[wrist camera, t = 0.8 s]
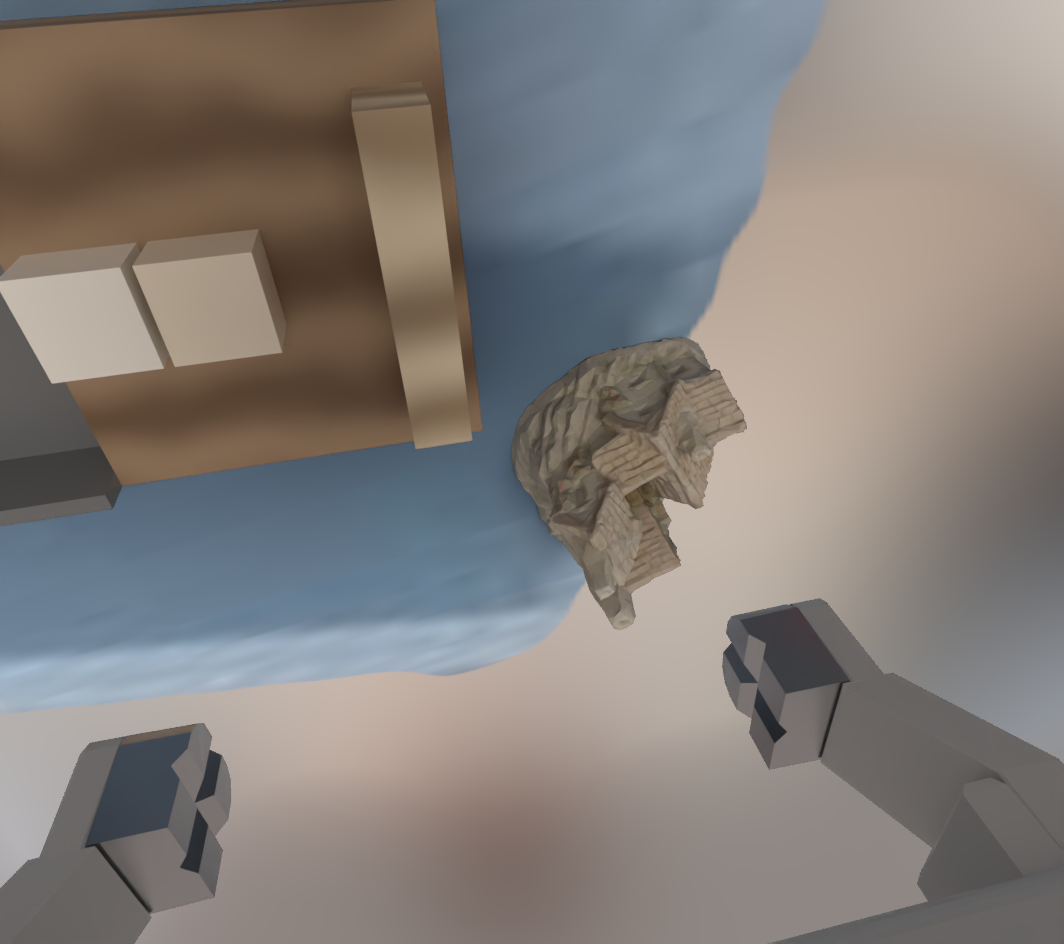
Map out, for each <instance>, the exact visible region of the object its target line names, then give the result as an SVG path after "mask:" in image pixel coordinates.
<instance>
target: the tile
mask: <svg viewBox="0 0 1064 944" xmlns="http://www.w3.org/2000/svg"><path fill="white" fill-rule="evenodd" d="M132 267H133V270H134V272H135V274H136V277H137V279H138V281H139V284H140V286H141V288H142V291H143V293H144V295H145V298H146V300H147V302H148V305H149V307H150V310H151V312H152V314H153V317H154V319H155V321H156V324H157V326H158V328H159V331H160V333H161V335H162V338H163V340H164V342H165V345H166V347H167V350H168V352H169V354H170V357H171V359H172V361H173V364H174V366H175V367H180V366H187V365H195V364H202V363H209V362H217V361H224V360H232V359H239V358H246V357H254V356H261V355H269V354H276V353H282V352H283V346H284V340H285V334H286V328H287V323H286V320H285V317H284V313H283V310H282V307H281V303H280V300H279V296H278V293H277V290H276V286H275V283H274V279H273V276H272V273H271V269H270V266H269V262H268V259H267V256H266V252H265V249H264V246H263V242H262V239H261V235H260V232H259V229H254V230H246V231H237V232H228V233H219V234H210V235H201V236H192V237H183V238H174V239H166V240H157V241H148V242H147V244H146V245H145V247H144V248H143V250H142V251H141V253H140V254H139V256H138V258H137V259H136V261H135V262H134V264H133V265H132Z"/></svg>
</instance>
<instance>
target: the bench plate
mask: <svg viewBox="0 0 1064 944" xmlns="http://www.w3.org/2000/svg"><path fill="white" fill-rule="evenodd" d="M412 82H421V83H422V86H423V88H424V90H425V93H426V95H427V97H428V100H429V102H430V105H431V112H432V120H433V128H434V136H435V144H436V152H437V160H438V168H439V176H440V184H441V192H442V200H443V209H444V217H445V225H446V233H447V241H448V249H449V257H450V265H451V273H452V281H453V289H454V297H455V305H456V313H457V321H458V329H459V337H460V345H461V353H462V361H463V369H464V377H465V385H466V393H467V401H468V409H469V417H470V425H471V432H476V431H483V429H482V420H481V411H480V402H479V393H478V384H477V375H476V366H475V357H474V348H473V339H472V330H471V321H470V313H469V304H468V295H467V286H466V277H465V268H464V259H463V250H462V241H461V232H460V223H459V214H458V205H457V196H456V187H455V178H454V169H453V160H452V151H451V142H450V134H449V125H448V116H447V107H446V98H445V89H444V80H443V71H442V62H441V53H440V44H439V35H438V26H437V17H436V8H435V0H286V1H273V2H259V3H245V4H231V5H217V6H204V7H190V8H176V9H162V10H148V11H135V12H121V13H107V14H93V15H79V16H66V17H52V18H38V19H24V20H10V21H0V264H1V266H2V268H3V270H4V272H5V271H6V270H7V269H8V268H9V267H10V266H11V265H12V264H13V263H14V262H15V261H16V260H17V259H18V258H19V257H20V256H23V255H32V254H41V253H50V252H59V251H68V250H77V249H86V248H94V247H103V246H112V245H121V244H130V243H137V245H138V247H139V250H140V252H141V251H142V250H143V248H144V247H145V245H146V244H147V242H148V241H157V240H166V239H174V238H183V237H192V236H201V235H210V234H219V233H228V232H237V231H246V230H254V229H259V232H260V235H261V239H262V242H263V246H264V249H265V252H266V256H267V259H268V262H269V266H270V269H271V273H272V276H273V279H274V283H275V286H276V290H277V293H278V296H279V300H280V303H281V307H282V310H283V313H284V317H285V320H286V323H287V328H286V334H285V340H284V346H283V352H282V353H276V354H269V355H261V356H254V357H246V358H239V359H232V360H224V361H217V362H209V363H202V364H195V365H187V366H180V367H175V366H174V364H173V361H172V359H171V357H170V356H169V358H168V360H167V363H166V365H165V367H164V369H157V370H150V371H143V372H135V373H128V374H120V375H113V376H106V377H98V378H91V379H83V380H76V381H69V382H65V383H66V385H67V386H68V388H69V390H70V392H71V394H72V396H73V397H74V399H75V401H76V403H77V405H78V407H79V408H80V410H81V412H82V414H83V416H84V417H85V419H86V421H87V423H88V425H89V427H90V428H91V430H92V432H93V434H94V436H95V438H96V439H97V441H98V443H99V445H100V447H101V448H102V450H103V452H104V454H105V456H106V458H107V459H108V461H109V463H110V465H111V467H112V469H113V470H114V472H115V474H116V476H117V478H118V479H119V481H120V483H121V485H122V486H126V485H133V484H139V483H146V482H152V481H159V480H165V479H172V478H178V477H185V476H191V475H198V474H204V473H211V472H217V471H224V470H230V469H236V468H243V467H249V466H256V465H262V464H269V463H275V462H282V461H288V460H295V459H301V458H308V457H314V456H321V455H327V454H334V453H340V452H347V451H353V450H360V449H366V448H373V447H379V446H386V445H392V444H399V443H405V442H412V441H414V438H413V433H412V427H411V422H410V417H409V412H408V406H407V401H406V396H405V391H404V385H403V380H402V375H401V370H400V364H399V359H398V354H397V349H396V343H395V338H394V333H393V328H392V322H391V317H390V312H389V307H388V301H387V296H386V291H385V286H384V280H383V275H382V270H381V265H380V259H379V254H378V249H377V244H376V238H375V233H374V228H373V223H372V217H371V212H370V207H369V202H368V196H367V191H366V186H365V181H364V175H363V170H362V165H361V160H360V154H359V149H358V144H357V139H356V133H355V128H354V123H353V118H352V112H351V106H352V88H356V87H367V86H378V85H390V84H401V83H412Z"/></svg>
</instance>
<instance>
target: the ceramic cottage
mask: <svg viewBox="0 0 1064 944" xmlns="http://www.w3.org/2000/svg"><path fill="white" fill-rule="evenodd" d="M745 429H747V426H746V422H745V421H744V414H743V413H742V411H741V410H740V408H739V407H738V405H737V401H736V400H735V398H733V396H732V394H731V392H730V391H729V389H728V387H727V385H726V384H725V381H724V379H723V377H722V375H721V373H720V371H719V370H716V369H714V370H710V365H709V364H708V362H707V360H706V358H705V354H704V352H703V350H702V349H701V348H700V346H699V344H698V343H697V344H696V343H695V342H694V341H692V340H690V339H687V338H683V337H682V338H679V337H673V338H671V340H669V339H662V341H660V342H657V341H654V342H648V343H641V344H639V345H636V346H631V347H626V348H624V349H623V348H617V349H616V350H613V351H612V350H609V351H606V352H604V353H602V354H597V355H596V356H592V357H591V358H588V359H586V360H585V361H583V362H582V363H580V364H579V366H576V367H574V368H573V369H571V370H569V373H568V374H566V375H565V376H564V377H562V379H561V380H558V381H556V382H555V383H554V384H552V385H551V386H549V387H548V388H547V389H546V390H545V391H544V392H543V393H541V394H540V395H539V396H538V397H537V400H535V401H534V402H533V404H530V405H529V406H528V407H527V408H526V410H525V411H524V413H523V414H522V416H521V418H520V419H519V421H518V424H517V427H516V431H515V435H514V439H513V445H512V462H513V468H514V471H515V474H516V476H517V478H518V480H519V481H520V482H521V484H522V486H523V488H524V489H525V490H526V491H527V492H528V493H529V494H530V495H531V497H532V498H533V499H534V501H535V503H536V505H537V507H538V510H539V514H540V517H541V519H542V520H543V521H544V522H546V523H547V527H548V531H549V535H553V536H556V537H557V539H558V540H559V541H561V542H563V543H564V544H565V546H566V548H567V550H568V551H569V552H570V554H571V555H572V557H573V558H574V559H575V561H576V562H577V563H578V565H579V566H581V567H582V568H583V571H584V574H585V578H586V581H587V584H588V587H589V590H590V592H591V593H592V595H593V596H594V598H595V600H596V601H597V602H598V603H599V605H600V606H601V608H602V609H603V610H604V612H605V614H606V616H607V618H608V619H609V621H610V623H611V624H612V625H613V627H614V629H618V630H621V629H624V628H626V627H628V626H630V625H631V624H633V622H634V619H635V611H634V608H633V602H632V597H631V594H632V592H633V591H634V590H636V589H638V588H639V587H641V586H643V585H645V584H647V583H649V582H650V581H651V580H652V579H654V578H656V577H658V576H660V575H663V574H665V573H667V572H669V571H671V570H673V569H675V568H677V567H679V566H681V564H680V559H679V557H678V556H677V551H676V549H677V547H676V546H675V545H674V543H673V542H672V540H671V538H670V537H669V530H668V526H669V524H670V522H671V519H670V517H669V516H668V514H667V512H666V511H665V508H664V506H663V504H662V502H663V499H664V498H667V499H671V500H674V501H676V502H680V503H683V504H689V505H690V506H692V507H693V508H695V509H697V508H701V507H702V506H703V501H702V499H703V498H704V497H705V494H704V491H705V489H706V487H707V484H708V482H707V480H706V479H707V474H708V473H709V471H710V468H711V462H712V457H713V454H714V452H713V447H714V446H715V445H716V443H717V442H719V441H721V440H723V439H725V438H726V437H728V436H730V435H732V434H735V433H740V432H744V430H745Z"/></svg>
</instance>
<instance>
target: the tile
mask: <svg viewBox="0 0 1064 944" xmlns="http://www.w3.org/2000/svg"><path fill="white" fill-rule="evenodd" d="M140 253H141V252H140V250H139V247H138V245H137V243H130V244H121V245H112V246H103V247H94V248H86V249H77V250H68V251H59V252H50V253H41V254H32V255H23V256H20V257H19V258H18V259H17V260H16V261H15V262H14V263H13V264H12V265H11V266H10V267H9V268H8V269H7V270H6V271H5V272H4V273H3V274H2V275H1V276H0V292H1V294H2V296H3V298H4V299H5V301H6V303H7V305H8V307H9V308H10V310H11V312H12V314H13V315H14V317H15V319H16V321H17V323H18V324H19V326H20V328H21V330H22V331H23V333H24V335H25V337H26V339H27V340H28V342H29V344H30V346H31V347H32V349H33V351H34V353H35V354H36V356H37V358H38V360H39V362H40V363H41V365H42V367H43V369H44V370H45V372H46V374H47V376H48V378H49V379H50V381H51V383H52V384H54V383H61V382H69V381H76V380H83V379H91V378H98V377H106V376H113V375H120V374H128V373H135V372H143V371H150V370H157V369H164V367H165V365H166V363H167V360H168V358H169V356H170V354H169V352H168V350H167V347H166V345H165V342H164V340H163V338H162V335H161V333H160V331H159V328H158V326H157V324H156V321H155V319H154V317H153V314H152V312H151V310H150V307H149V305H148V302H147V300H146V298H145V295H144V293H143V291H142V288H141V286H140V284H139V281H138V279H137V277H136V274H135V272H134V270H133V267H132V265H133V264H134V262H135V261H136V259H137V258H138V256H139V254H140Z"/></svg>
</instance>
